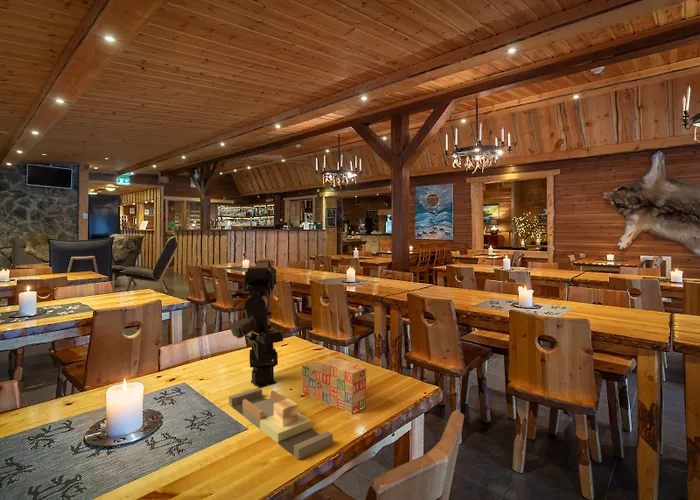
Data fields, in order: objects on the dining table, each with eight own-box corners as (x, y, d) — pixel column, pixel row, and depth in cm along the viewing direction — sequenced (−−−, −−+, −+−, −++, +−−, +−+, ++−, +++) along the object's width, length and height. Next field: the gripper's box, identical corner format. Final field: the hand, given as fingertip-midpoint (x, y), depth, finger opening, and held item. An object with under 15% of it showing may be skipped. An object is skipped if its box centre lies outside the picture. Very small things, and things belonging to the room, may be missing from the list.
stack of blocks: (301, 393, 127) (301, 356, 126) (316, 387, 132) (316, 351, 131) (352, 415, 113) (352, 372, 112) (366, 407, 118) (366, 366, 117)
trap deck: (259, 395, 125) (258, 381, 125) (332, 444, 98) (332, 426, 97) (228, 404, 119) (228, 389, 119) (298, 459, 91) (298, 440, 91)
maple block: (288, 414, 107) (288, 398, 107) (297, 420, 104) (297, 404, 104) (273, 419, 104) (273, 403, 104) (282, 426, 101) (282, 409, 101)
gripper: (219, 307, 121) (220, 357, 122) (248, 318, 107) (249, 374, 108) (253, 302, 128) (253, 350, 129) (284, 312, 114) (284, 365, 115)
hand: (259, 359), depth 120 cm, fingers closed
